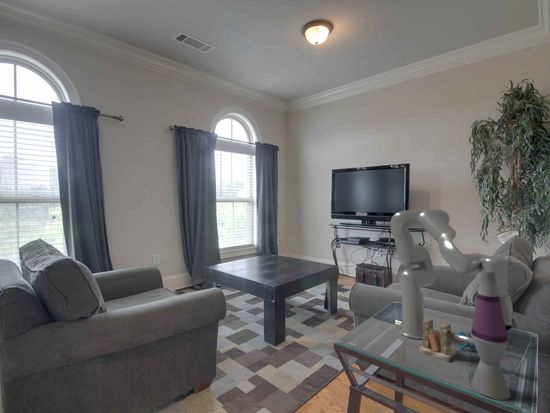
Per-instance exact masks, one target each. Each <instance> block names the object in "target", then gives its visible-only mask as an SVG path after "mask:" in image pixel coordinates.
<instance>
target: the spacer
mask: <svg viewBox="0 0 550 413" xmlns="http://www.w3.org/2000/svg"><path fill="white" fill-rule="evenodd" d="M428 338H429V340H430V343H431V346H432V349H433V351H439V350H440V349H441V337H440V331H439V330H438V329H436V330H435V329H433V331H432V332H431V333H429V334H428Z"/></svg>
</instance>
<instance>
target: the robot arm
mask: <svg viewBox="0 0 550 413" xmlns="http://www.w3.org/2000/svg"><path fill="white" fill-rule="evenodd" d="M449 223H450V215H449V213H447V212H446V211H445V210H442V209H424V210H423V209H422V210H420V209H419V210H418V209H417V210H400V211H397V212H396V213H394V214H393V216H392V217H391V219H390V230H391V232H392V235H393V240H394V244H395V248H396V253H397V258H398V261H399V263H400V264H401V265H402V266H406V267H407V266H408V267H409V266H414V267H412V268H406V269H403V270H402V271H401V272H400V274H399V284H400V288H401V301H402V302H401V303H402V304H401V306H402V310H401V311H402V312H401V313H402V315H401V316H402V320H399V319H395V322H394V323H395V326H398V327H400V328H399V331H400V332H399V333H400V335H402V336H404V337H406V338H409V339H414V340H423V321H424V320H425V307H424V306H425V304H424V303H425V302H424V300H425V299H424V295H423V292H422V291H421V289H422V288H425V287H429V286H430V287H431V286H432V285H433V284H434V283H435V279H436V274H435V270H434V266H433V262H432V257H431V254H430V252H429V250H428V249H427V248H426V247H424V246H423V245H418V244H416V245H415V242H414V237H413V235H412V234H411V232H410V231H409V229H408V228H411V229H412V228H423V229H424V230H425V231H426V232H427V233H428V234H429V235H430V236H431V238H433V240H434V241H435V242H436V243H438V248H439V249H438V250H439V252H440V254H441V258H442V259H443V260H444V261H445V262H446V263H447V265H449V266H450V267H451V268H452V269H453V270H454V271H456V273H459V274H460V275H470V274H471V275H472V274H479V273H480V274H481V271H482V270H490V271H493V272H494V273H495V278H496V283H497V287H498V292H499V299H500V304H501V309H502V314H503V319H504V323H505V328H506V332H508V331H510V330H511V329H516V328H518V327H520V325H519V323H518V321H517V320H516V319H515V317H514V310H513V303H512V298H511V295H509V292H508V289H509V288H508V286H509V285H508V261H507V259H505V258H504V257H500V256H494V255H493V256H491V255H487V254H482V253H478V252H477V253H475V252H473V253H465V254H463V252H462V251H461V250H459V248H458V247H457V246H456V245H455V244H454V241H453V240H454V239H455V238H456V236H457V231H456V230H455V229H454V228H453V227H452V226H451V225H450V224H449ZM478 287H479V284H478V285H477V288H478Z"/></svg>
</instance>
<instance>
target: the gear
mask: <svg viewBox="0 0 550 413" xmlns="http://www.w3.org/2000/svg"><path fill="white" fill-rule="evenodd" d="M459 334H460V335H464V336H467V337H469V336H468V335H467V334H465V332H463V331H462V330H461V331H460V332H459ZM467 347H471V348H472V349H474V351H475V352H477V349H476V347H475V345H472V344H469V343H466V342H462V343H460V347H459V349H460V350H461V351H463V350H464V349H465V348H467ZM477 353H478V352H477Z"/></svg>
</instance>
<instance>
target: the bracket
mask: <svg viewBox="0 0 550 413" xmlns="http://www.w3.org/2000/svg"><path fill="white" fill-rule="evenodd" d="M439 328H440V330H439V334H440V337H441V349H440V350H439V351H433V349H432V346H431V343H430V340H429V338H428V334H429V333H431V332H432V331H433V330H434V319H433V318H430V317H427V318H426V319H424V321H423V339H422V343H421V344H420V345H419V346H418V347H417V352H419V353H422V354H425V355H428V356H430V357H433V358H436V359H439V360H442V361H444V362H448V363H449V362H450V361H451V360H452V359H453V358H454V357H455V356H456V355H457V354H458V349H456V348H453V347H452V338H448V337H447V331H449V332H452V324H451V323H449V322H444V323H443V324H441V325H440V326H439Z"/></svg>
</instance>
